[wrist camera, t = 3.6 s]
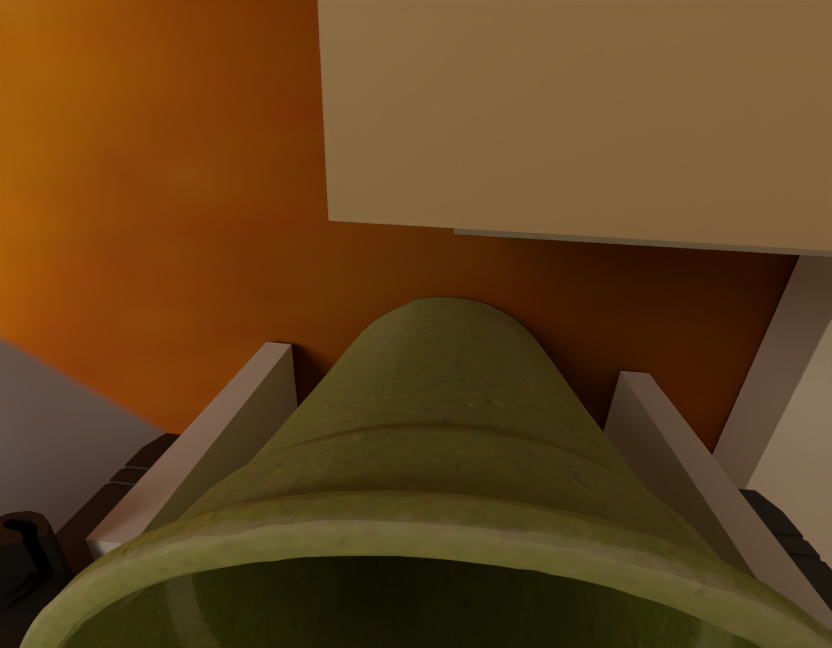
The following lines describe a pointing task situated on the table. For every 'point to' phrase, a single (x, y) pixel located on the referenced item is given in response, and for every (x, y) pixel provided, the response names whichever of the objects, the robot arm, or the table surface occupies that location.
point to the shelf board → (790, 409)
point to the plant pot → (427, 523)
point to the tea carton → (584, 119)
